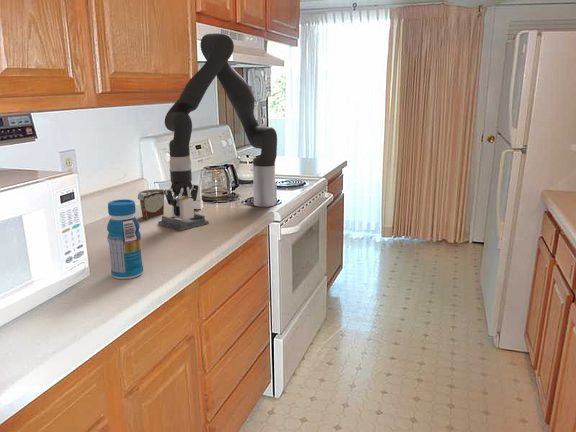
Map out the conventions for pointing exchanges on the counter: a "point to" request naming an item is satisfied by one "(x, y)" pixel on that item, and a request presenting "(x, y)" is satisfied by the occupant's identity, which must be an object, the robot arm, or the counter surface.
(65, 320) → the counter surface
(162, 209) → the food container
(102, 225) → the counter surface
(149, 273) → the counter surface
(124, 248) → the beverage bottle
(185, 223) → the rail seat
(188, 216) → the block
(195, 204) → the white wedge bracket
